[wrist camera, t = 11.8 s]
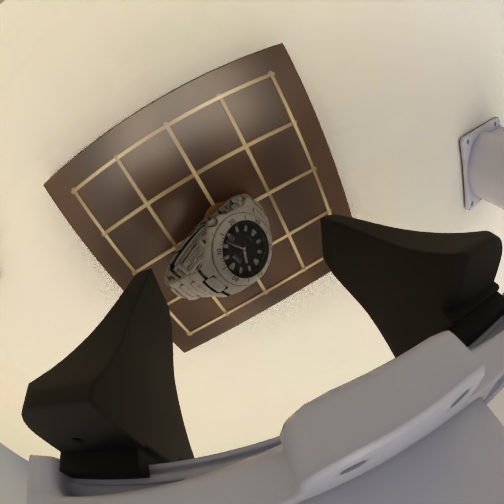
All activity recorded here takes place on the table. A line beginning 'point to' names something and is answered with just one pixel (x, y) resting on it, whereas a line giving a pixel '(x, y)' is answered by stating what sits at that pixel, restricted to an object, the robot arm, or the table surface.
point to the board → (208, 185)
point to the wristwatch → (222, 252)
